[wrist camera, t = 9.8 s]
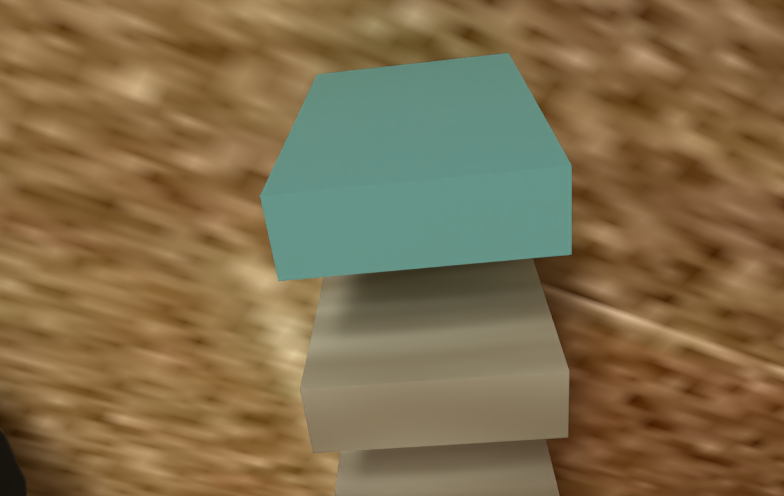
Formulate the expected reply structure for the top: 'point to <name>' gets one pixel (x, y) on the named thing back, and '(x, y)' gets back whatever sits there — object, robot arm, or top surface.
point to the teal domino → (418, 172)
